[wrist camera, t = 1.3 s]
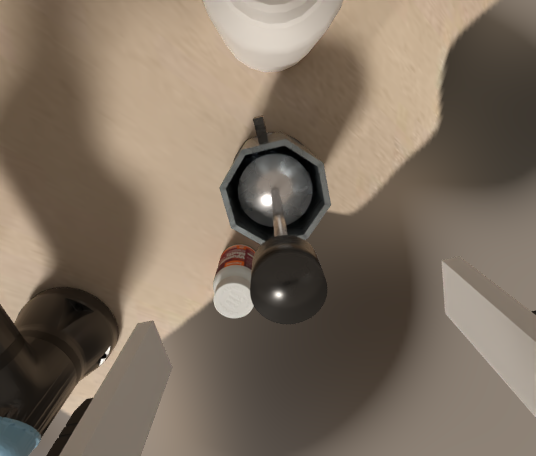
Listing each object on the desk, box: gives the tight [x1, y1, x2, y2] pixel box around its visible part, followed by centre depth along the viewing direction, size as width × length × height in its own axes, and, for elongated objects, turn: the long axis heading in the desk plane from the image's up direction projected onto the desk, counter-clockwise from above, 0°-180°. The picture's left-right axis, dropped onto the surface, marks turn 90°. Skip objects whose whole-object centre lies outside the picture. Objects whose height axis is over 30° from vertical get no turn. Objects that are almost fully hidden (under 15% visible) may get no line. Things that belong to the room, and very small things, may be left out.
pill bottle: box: [213, 244, 255, 318], centre depth 47 cm, size 6×6×11 cm
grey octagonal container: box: [220, 115, 331, 244], centre depth 42 cm, size 12×14×12 cm
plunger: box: [238, 153, 327, 324], centre depth 28 cm, size 8×8×23 cm
